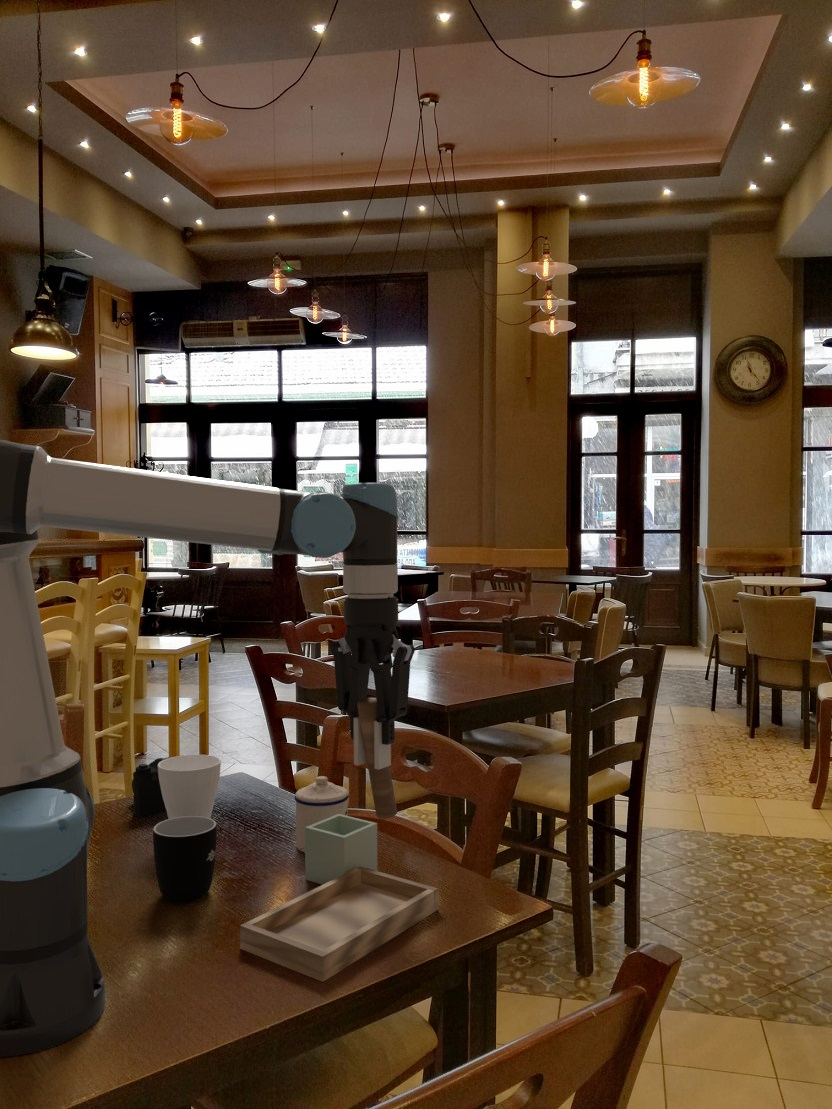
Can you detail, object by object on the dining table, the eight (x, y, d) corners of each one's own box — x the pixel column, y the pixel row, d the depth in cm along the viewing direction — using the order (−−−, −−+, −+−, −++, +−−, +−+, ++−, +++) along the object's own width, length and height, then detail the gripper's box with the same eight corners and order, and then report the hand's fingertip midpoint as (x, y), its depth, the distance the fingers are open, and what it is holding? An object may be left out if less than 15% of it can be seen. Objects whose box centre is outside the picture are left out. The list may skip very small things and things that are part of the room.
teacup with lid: (355, 852, 144) (354, 782, 144) (300, 859, 141) (300, 787, 141) (337, 828, 155) (337, 763, 155) (286, 834, 152) (286, 768, 152)
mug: (215, 905, 124) (214, 834, 123) (149, 909, 122) (149, 838, 122) (219, 872, 136) (219, 807, 135) (160, 876, 134) (159, 811, 134)
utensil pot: (344, 891, 128) (344, 837, 128) (305, 879, 133) (305, 827, 133) (377, 874, 135) (377, 823, 134) (338, 863, 139) (338, 813, 139)
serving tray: (323, 981, 103) (322, 956, 102) (240, 948, 111) (240, 925, 111) (437, 909, 122) (437, 888, 122) (360, 886, 130) (360, 866, 130)
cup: (189, 856, 142) (188, 774, 142) (144, 844, 148) (144, 765, 147) (234, 836, 151) (233, 759, 151) (190, 826, 157) (190, 751, 156)
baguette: (373, 828, 119) (369, 703, 118) (356, 824, 120) (352, 700, 119) (401, 814, 124) (398, 694, 123) (384, 810, 126) (381, 691, 125)
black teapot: (184, 791, 178) (184, 743, 178) (209, 804, 170) (208, 753, 170) (117, 806, 169) (116, 754, 169) (140, 819, 161) (139, 765, 160)
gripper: (434, 595, 118) (435, 767, 119) (344, 591, 128) (345, 751, 128) (401, 599, 112) (402, 780, 113) (309, 595, 122) (311, 762, 122)
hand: (372, 764), depth 121 cm, fingers closed on baguette, 3 cm apart
